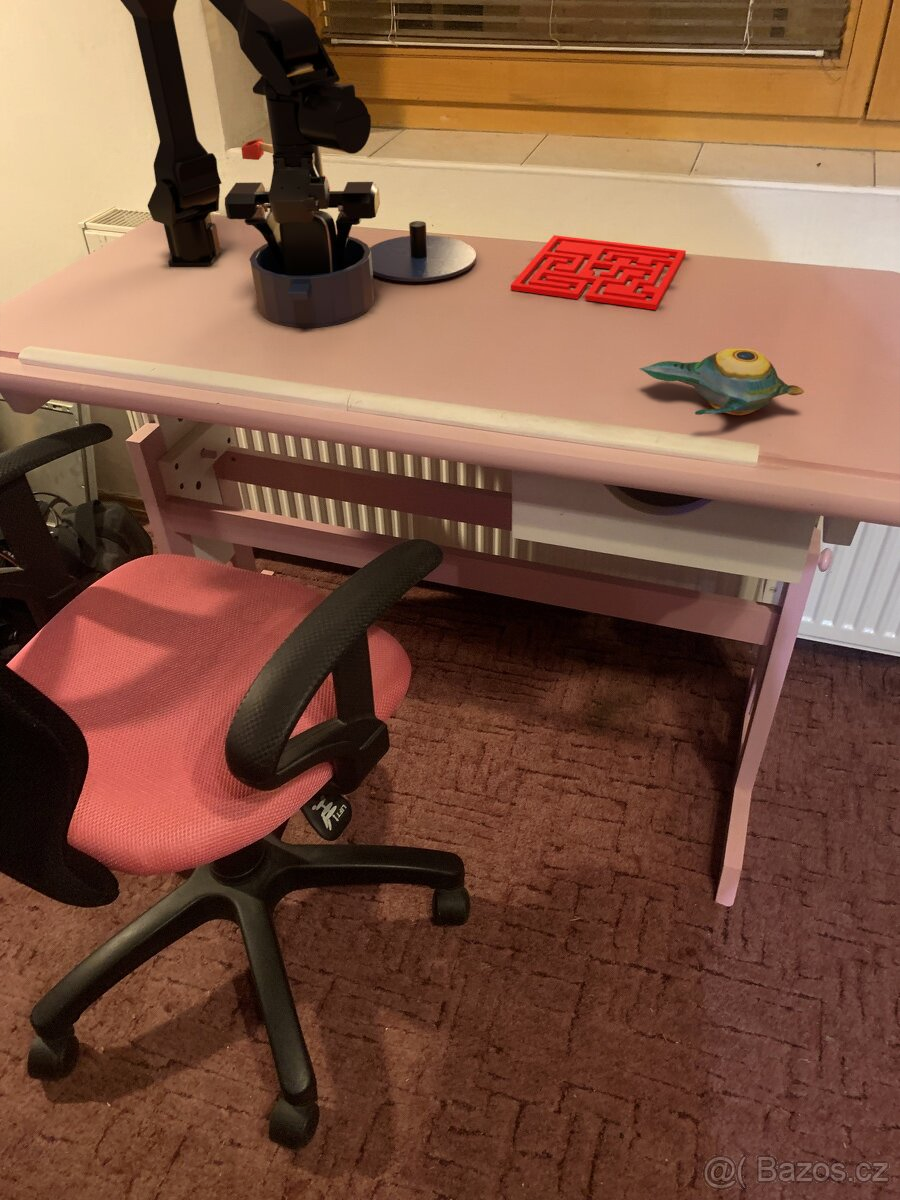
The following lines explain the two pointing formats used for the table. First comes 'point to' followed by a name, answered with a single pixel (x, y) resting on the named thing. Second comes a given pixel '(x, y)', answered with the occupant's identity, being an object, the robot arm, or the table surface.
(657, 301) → the maze puzzle
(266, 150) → the toy fire truck
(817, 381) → the table surface
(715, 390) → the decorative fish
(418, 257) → the lid
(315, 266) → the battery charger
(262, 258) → the pan
